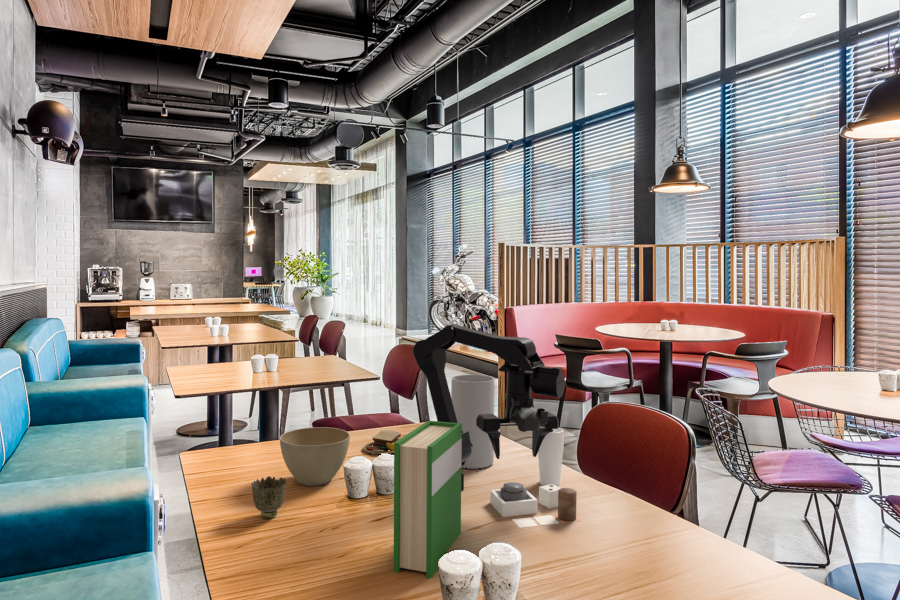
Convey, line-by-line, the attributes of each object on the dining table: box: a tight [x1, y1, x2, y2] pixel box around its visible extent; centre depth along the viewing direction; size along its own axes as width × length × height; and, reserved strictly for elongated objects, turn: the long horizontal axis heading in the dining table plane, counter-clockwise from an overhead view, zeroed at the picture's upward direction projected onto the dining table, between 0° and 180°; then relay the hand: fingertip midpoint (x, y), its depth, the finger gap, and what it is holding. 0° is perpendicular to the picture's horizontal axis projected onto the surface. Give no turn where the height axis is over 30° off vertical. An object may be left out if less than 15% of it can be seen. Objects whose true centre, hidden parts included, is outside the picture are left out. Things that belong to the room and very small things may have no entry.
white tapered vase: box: [537, 427, 565, 486], centre depth 151 cm, size 7×7×15 cm
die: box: [538, 484, 562, 509], centre depth 136 cm, size 4×4×4 cm
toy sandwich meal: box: [362, 429, 402, 455], centre depth 182 cm, size 12×14×5 cm
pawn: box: [557, 487, 578, 523], centre depth 128 cm, size 4×4×6 cm
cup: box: [251, 476, 287, 520], centre depth 130 cm, size 8×7×8 cm
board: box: [489, 488, 581, 529], centre depth 131 cm, size 18×16×4 cm
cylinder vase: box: [450, 374, 495, 470], centre depth 169 cm, size 12×12×25 cm
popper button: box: [500, 481, 528, 502], centre depth 134 cm, size 6×6×5 cm
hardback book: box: [393, 420, 462, 579], centre depth 113 cm, size 18×7×24 cm, turn 161°
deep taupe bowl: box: [279, 426, 351, 487], centre depth 153 cm, size 18×18×12 cm
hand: (516, 457), depth 136 cm, fingers open, 9 cm apart
